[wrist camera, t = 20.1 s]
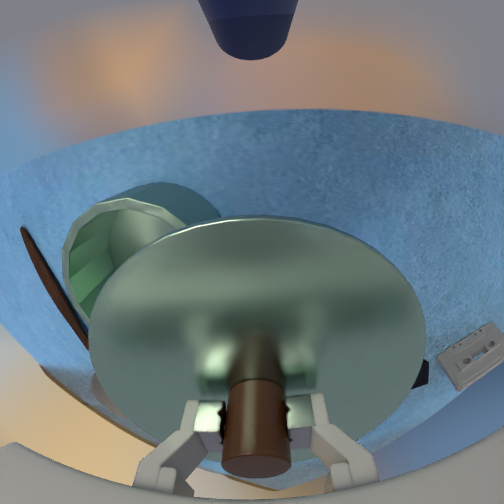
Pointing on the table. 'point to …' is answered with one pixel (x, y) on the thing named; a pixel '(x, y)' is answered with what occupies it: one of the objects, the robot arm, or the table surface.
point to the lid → (257, 333)
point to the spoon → (66, 316)
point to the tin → (123, 234)
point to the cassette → (462, 353)
